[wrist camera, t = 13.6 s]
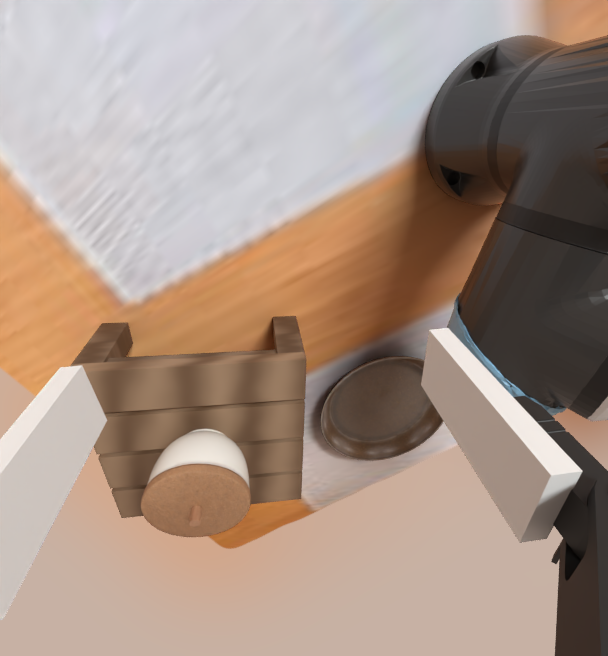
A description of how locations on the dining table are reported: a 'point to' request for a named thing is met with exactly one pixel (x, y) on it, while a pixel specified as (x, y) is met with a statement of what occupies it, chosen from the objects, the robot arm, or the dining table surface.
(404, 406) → the plant saucer
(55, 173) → the dining table surface
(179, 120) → the dining table surface
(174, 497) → the lidded jar
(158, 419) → the walnut rack
